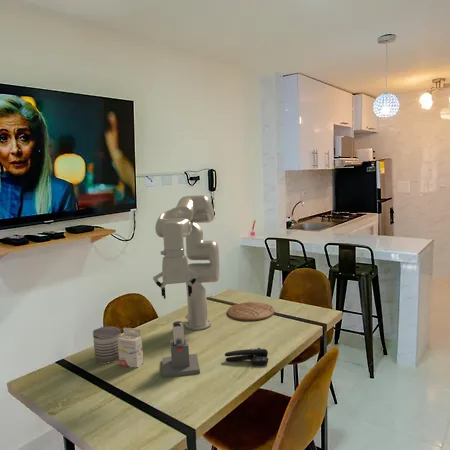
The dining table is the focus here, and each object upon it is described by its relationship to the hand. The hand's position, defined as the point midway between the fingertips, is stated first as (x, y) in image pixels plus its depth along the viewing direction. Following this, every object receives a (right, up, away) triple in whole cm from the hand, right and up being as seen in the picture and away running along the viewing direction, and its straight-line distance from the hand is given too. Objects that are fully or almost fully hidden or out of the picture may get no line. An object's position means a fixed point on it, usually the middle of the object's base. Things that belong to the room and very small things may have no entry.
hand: (177, 296), depth 162 cm
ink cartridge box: (-19, -29, +8) cm, 36 cm away
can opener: (+27, -27, +6) cm, 39 cm away
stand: (+1, -29, +4) cm, 29 cm away
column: (+1, -27, +3) cm, 27 cm away
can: (-31, -29, +15) cm, 45 cm away
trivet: (+33, -20, +61) cm, 72 cm away
